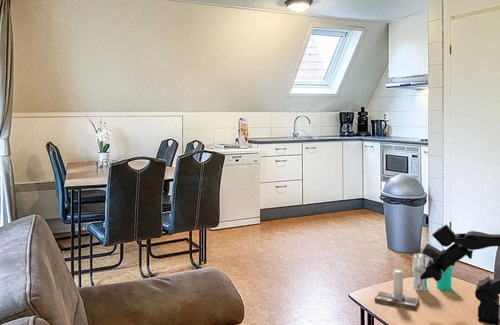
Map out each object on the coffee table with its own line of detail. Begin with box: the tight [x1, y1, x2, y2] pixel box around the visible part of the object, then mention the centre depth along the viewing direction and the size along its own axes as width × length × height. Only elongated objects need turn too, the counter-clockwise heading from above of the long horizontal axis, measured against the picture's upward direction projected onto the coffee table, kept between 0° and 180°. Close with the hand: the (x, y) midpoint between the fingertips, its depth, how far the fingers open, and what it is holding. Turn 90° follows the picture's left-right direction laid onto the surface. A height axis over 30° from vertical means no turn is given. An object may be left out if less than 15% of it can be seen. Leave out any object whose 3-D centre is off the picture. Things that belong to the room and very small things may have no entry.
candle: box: [436, 266, 453, 291], centre depth 189 cm, size 6×6×12 cm
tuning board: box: [374, 291, 420, 310], centre depth 176 cm, size 16×8×2 cm, turn 58°
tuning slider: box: [392, 269, 406, 301], centre depth 174 cm, size 4×6×11 cm, turn 148°
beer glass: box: [411, 253, 430, 292], centre depth 188 cm, size 7×7×15 cm
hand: (420, 278), depth 170 cm, fingers closed
